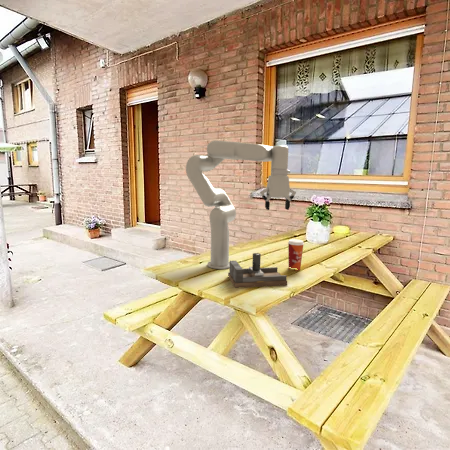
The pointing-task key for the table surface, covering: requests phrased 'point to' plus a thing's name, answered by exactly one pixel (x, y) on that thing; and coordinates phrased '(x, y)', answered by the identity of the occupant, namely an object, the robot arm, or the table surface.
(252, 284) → the base
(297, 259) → the coffee cup
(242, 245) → the table surface
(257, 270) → the press carriage
